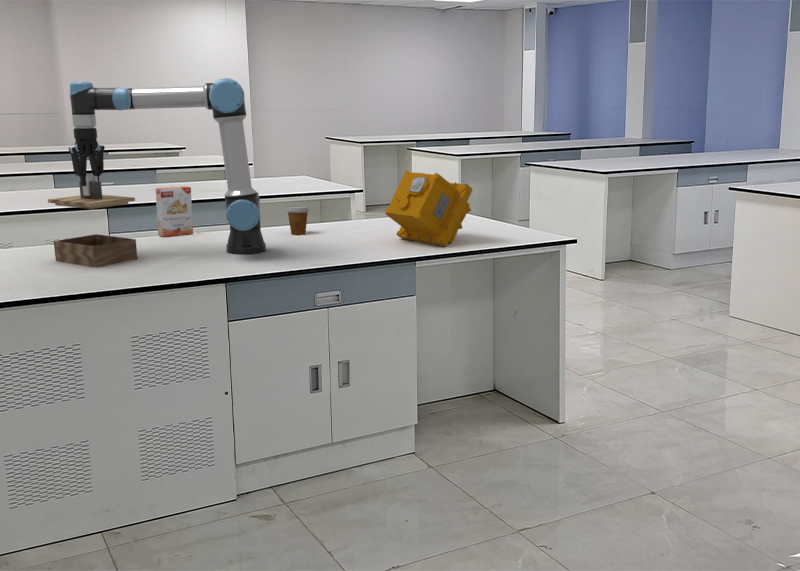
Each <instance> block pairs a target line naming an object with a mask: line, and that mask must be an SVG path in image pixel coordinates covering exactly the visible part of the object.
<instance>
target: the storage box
mask: <svg viewBox="0 0 800 571" xmlns="http://www.w3.org/2000/svg"><path fill="white" fill-rule="evenodd" d="M53 248H54V257H55V262H59V263H66V264H73V265H76V266H83V267H89V268H99V267H106V266H109V265H114V264H115V265H116V264H119V263H123V262H124V263H125V262H128V261H129V262H130V261H134V260H138V251H137V250H138V249H137V240H136V238H129V237H122V236H121V237H120V236H114V235H105V234H99V233H98V234H97V233H95V234H90V235H82V236H76V237H71V238H66V239H60V240H53Z"/></svg>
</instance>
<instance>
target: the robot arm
mask: <svg viewBox="0 0 800 571" xmlns="http://www.w3.org/2000/svg"><path fill="white" fill-rule="evenodd" d="M69 99H70V105H71V115H72V116H71V117H72V125H73V127H74V128H73V138H74V140H75V142H74V145H73V146H68V151H69V153H70V156H71V162H72V168H73V174H74V175H75V176H77V177H79V178H80V179H79V181H80V182H81V186H83V195H87V196H89V195H90V189H89V181H98V182H100V176H101V175H102V174H104V168H105V167H104V164H105V163H104V151H105V145H100V144H99V143H98V141H97V138H98V130H97V128H95V127H97V117H96V111H126V110H149V109H150V110H151V109H152V110H153V109H179V108H181V109H184V108H187V109H188V108H206V110H209V111H211V110H212V116H213V120H214V121H215V122H216V123H217V124H218V128H219V136H220V143H221V148H222V149H221V150H222V156H223V157H222V158H223V165H224V169H225V180H226V184H227V191H226V192H225V194H224V202H225V208H226V211H225V212H226V214H225V218H226V220H227V223H228V224H229V234H228V238H227V243H226V246H225V248H226V250H225V251H226V252H227V253H229V254H235V255H236V254H237V255H238V254H239V255H245V254H246V255H249V254H258V253H262V252H265V251H267V246H266V245H267V244H266V242H265V241H264V237H263V233H262V230H261V211H260V210H261V205H260V194H259V192H257V190H255V189H254V188H253V187H252V180H251V179H252V178H251V172H250V165H249V157H248V150H247V144H246V143H247V142H246V136H245V135H246V134H245V128H244V120H245V119H246V117H247V110H246V102H245V92H244V89H243V87H242V85H241V84H240V83H239V82H238V81H236V80H235V79H233V78H229V77H227V78H226V77H224V78H219V79H217V80H215V81H214V82H205V83H204V84H203V85H197V86H196V85H195V86H194V85H193V86H166V87H164V86H161V87H160V86H159V87H157V86H155V87H134V88H133V87H127V88H126V87H94V86H93V83H92V82H91V81H72V82H70V83H69ZM87 158H88V159H87ZM88 161H89V166H90V170H91V173H92V175H90V178H89V176H87V166H88V165H87V162H88Z"/></svg>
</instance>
